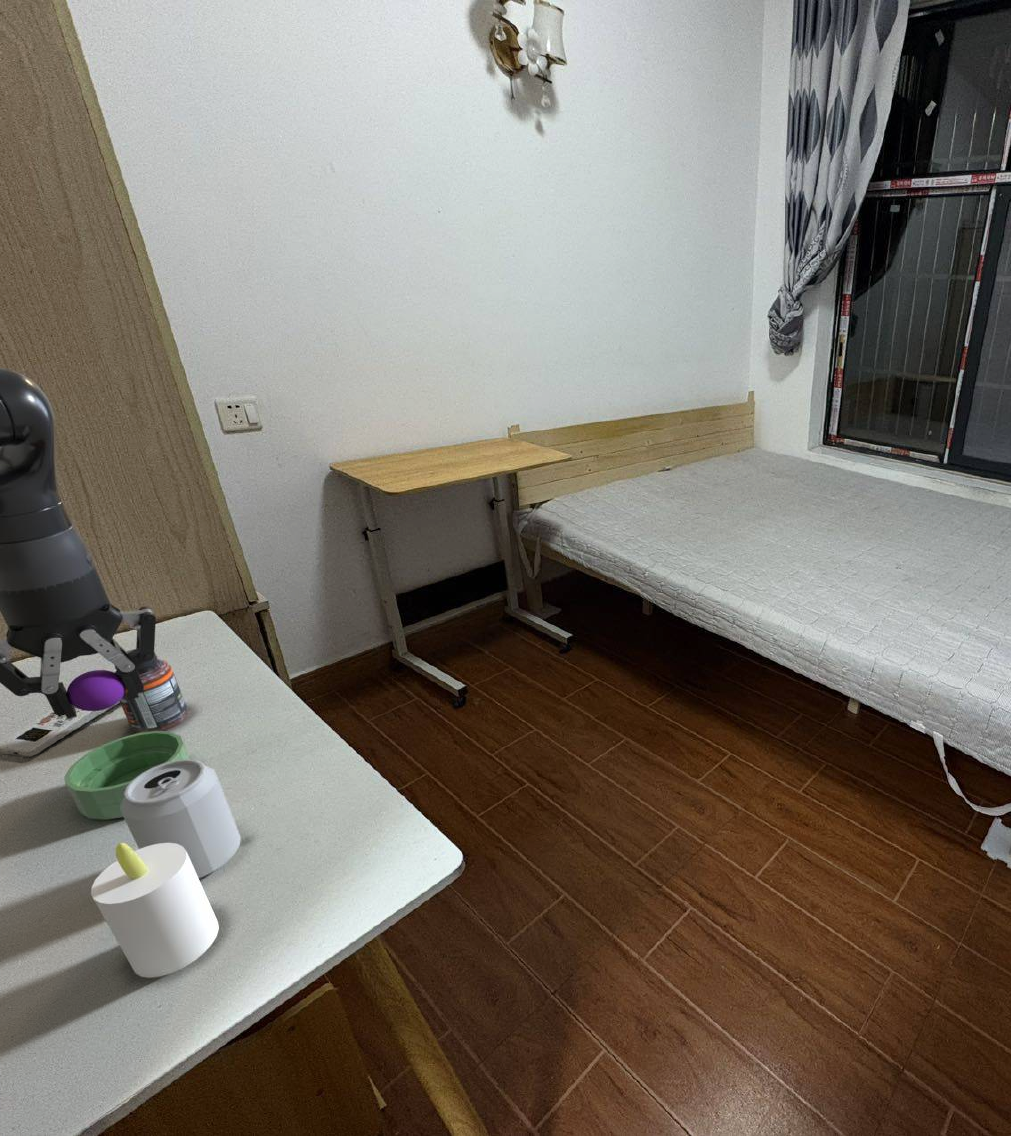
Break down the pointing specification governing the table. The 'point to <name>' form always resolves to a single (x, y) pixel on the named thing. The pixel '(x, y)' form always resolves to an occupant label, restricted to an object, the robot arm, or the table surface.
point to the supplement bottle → (155, 699)
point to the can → (182, 813)
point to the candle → (156, 908)
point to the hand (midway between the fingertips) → (103, 704)
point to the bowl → (118, 770)
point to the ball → (96, 690)
